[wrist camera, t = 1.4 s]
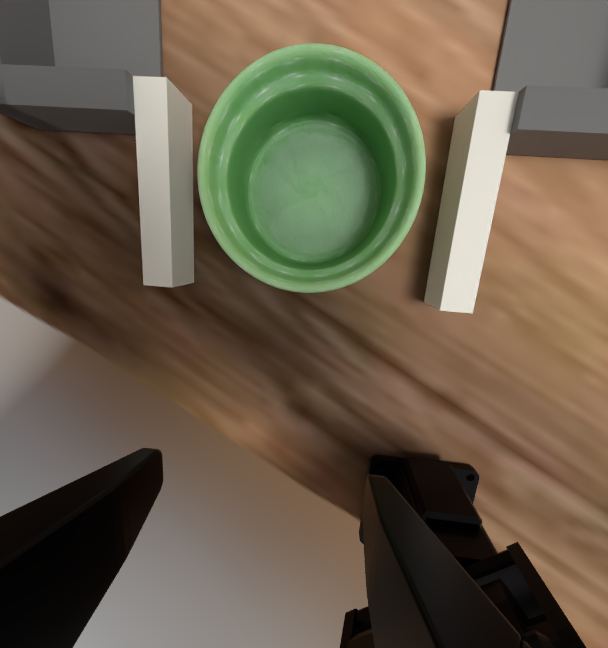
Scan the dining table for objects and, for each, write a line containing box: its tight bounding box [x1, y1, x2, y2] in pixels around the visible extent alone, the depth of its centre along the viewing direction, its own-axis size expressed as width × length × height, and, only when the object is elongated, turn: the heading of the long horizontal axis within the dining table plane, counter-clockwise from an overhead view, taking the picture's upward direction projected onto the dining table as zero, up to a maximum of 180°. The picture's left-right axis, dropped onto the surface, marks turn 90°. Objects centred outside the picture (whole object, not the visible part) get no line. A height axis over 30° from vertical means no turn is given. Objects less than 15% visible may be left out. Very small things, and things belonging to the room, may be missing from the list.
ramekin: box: [197, 43, 426, 293], centre depth 14 cm, size 9×9×4 cm
